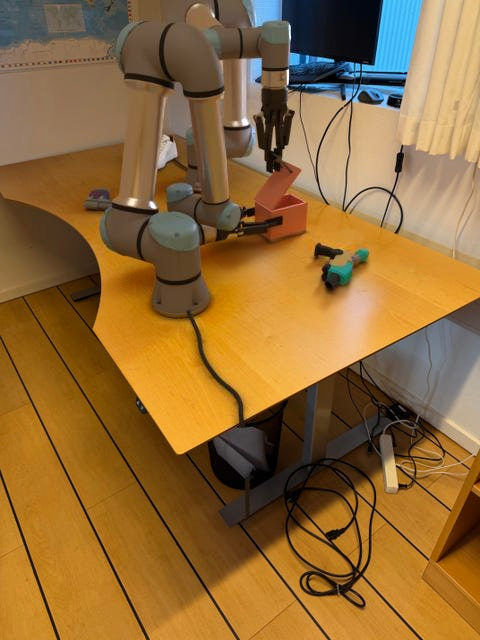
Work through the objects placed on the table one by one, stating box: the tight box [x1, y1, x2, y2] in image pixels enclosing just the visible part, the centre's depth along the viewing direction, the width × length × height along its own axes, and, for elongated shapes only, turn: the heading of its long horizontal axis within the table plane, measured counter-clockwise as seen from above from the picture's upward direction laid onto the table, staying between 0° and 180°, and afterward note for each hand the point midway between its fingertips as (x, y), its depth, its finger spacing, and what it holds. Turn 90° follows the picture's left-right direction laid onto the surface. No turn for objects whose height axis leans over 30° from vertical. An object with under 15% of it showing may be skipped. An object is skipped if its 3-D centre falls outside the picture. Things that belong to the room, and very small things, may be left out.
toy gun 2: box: [313, 242, 370, 292], centre depth 136 cm, size 4×26×15 cm
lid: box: [253, 153, 303, 211], centre depth 146 cm, size 15×10×9 cm
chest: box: [254, 192, 309, 244], centre depth 156 cm, size 14×10×10 cm
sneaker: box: [158, 133, 179, 170], centre depth 214 cm, size 10×29×12 cm, turn 163°
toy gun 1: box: [82, 188, 112, 211], centre depth 178 cm, size 4×19×15 cm
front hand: (273, 214), depth 154 cm, fingers closed on chest, 10 cm apart
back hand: (273, 171), depth 145 cm, fingers closed on lid, 2 cm apart
